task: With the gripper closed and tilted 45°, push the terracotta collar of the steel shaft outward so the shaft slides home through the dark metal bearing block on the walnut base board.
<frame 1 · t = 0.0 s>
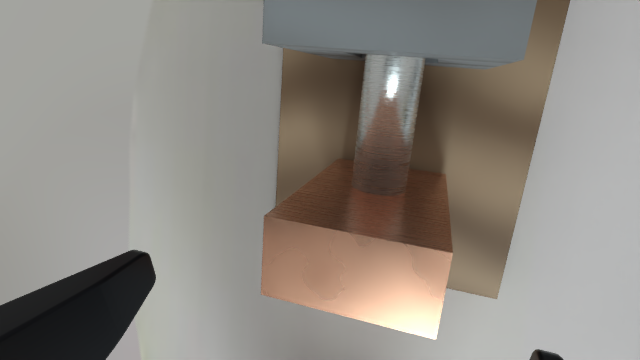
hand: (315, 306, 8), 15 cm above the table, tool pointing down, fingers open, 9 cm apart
bearing base: (402, 100, 22), on the table
shaft: (393, 57, 15), point 7 cm above the table, slide at 0.0 cm
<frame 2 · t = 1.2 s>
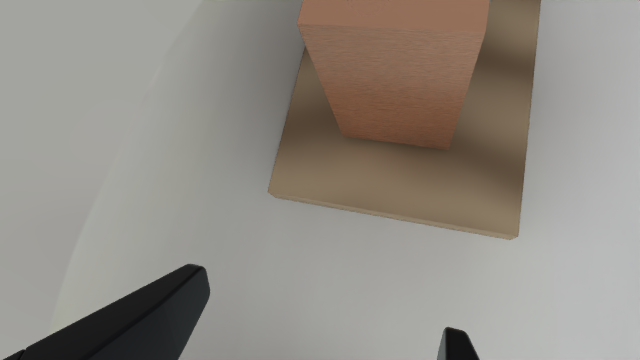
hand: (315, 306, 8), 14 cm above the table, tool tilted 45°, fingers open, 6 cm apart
bearing base: (411, 62, 25), on the table
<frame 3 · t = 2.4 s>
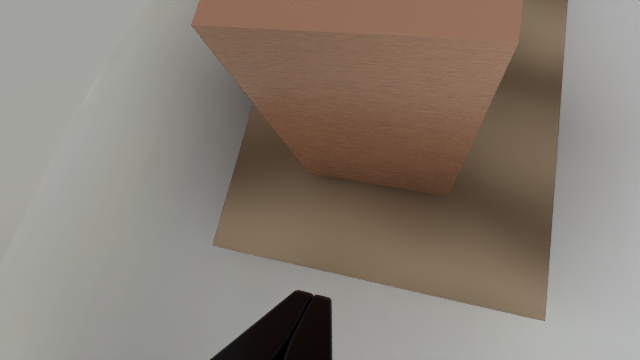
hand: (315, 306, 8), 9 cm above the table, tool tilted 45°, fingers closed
bearing base: (400, 77, 19), on the table
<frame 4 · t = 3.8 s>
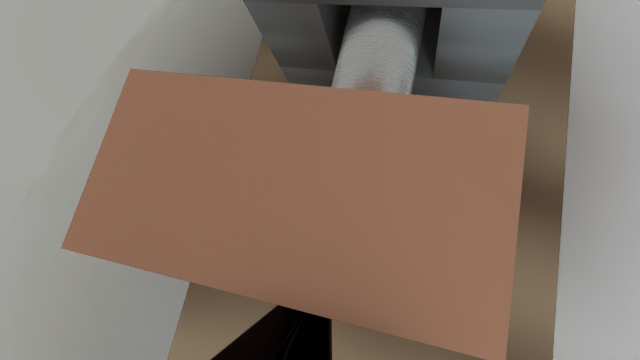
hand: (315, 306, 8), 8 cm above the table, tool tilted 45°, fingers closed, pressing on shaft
bearing base: (381, 169, 17), on the table
shaft: (384, 11, 11), point 7 cm above the table, slide at 0.9 cm, touching gripper
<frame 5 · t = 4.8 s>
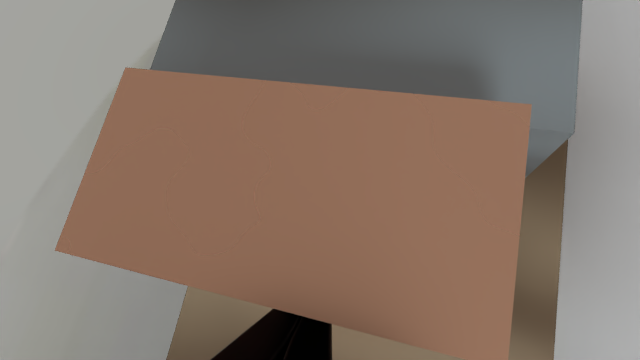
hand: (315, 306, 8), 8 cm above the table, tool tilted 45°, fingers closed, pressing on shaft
bearing base: (363, 260, 16), on the table
shaft: (384, 8, 11), point 7 cm above the table, slide at 5.1 cm, touching gripper
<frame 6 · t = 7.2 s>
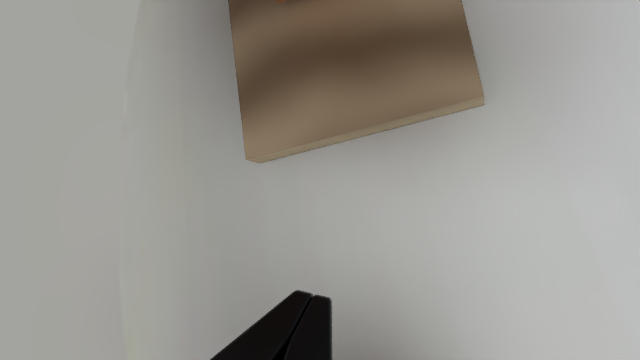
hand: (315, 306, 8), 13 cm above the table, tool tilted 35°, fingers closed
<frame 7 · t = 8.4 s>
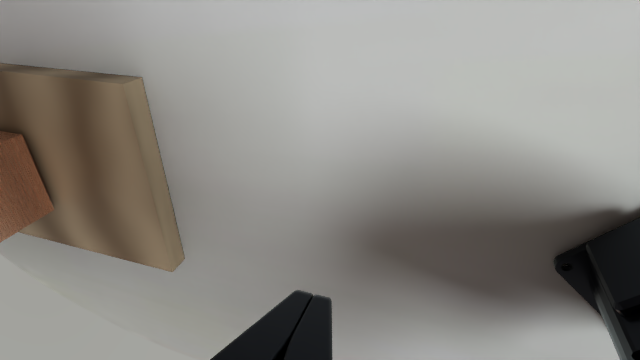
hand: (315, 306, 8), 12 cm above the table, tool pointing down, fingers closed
bearing base: (49, 159, 28), on the table
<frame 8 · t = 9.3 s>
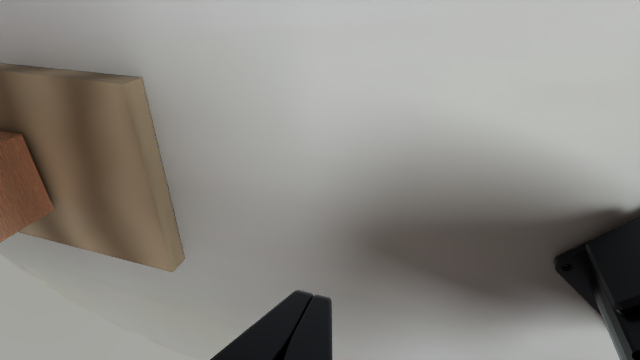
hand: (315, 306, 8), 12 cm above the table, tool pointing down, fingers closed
bearing base: (48, 159, 28), on the table
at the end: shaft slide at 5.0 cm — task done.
